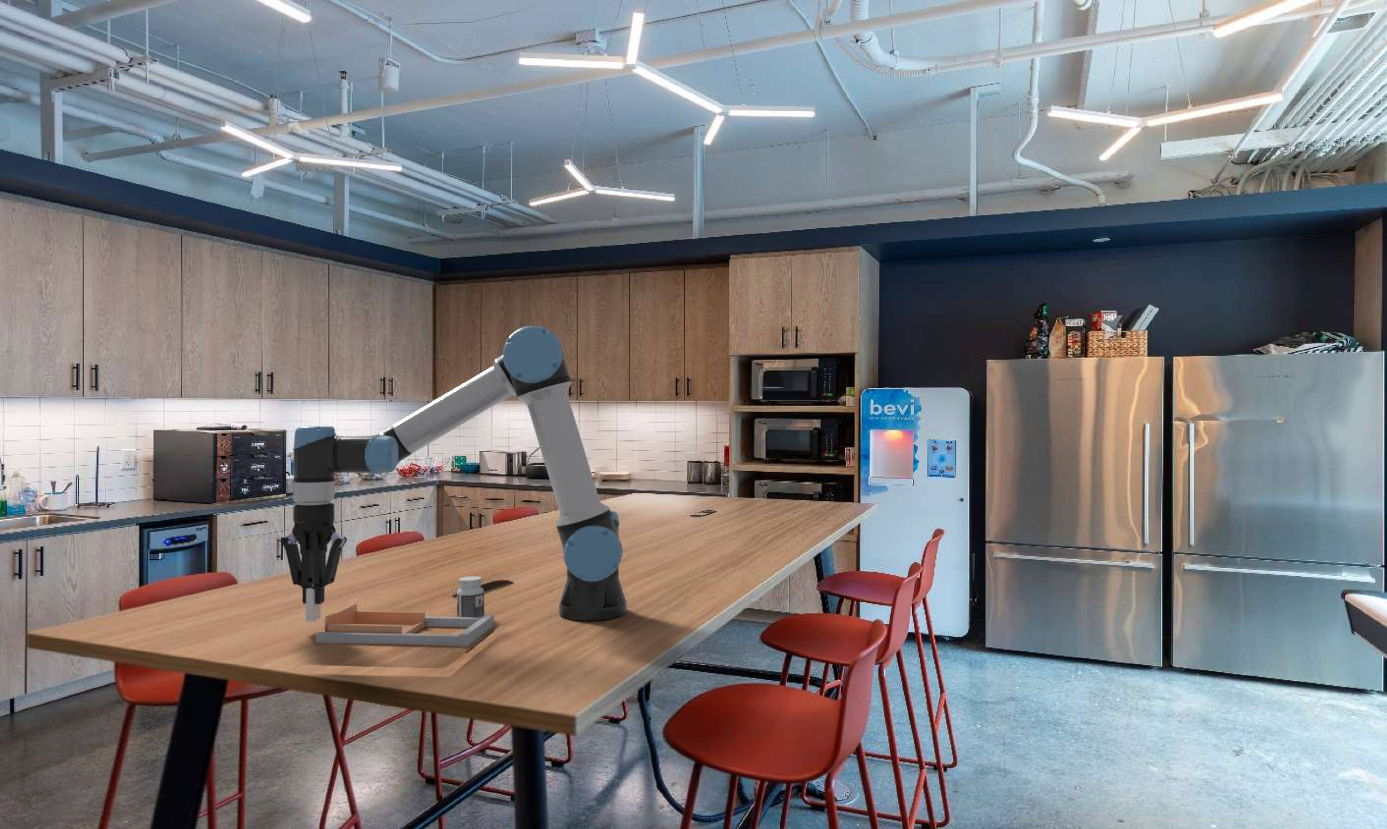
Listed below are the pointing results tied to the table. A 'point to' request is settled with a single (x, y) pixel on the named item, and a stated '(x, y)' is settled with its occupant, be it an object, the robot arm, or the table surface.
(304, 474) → the robot arm
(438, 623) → the bay
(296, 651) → the table surface
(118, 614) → the table surface
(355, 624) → the crate
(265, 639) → the table surface
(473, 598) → the pill bottle
